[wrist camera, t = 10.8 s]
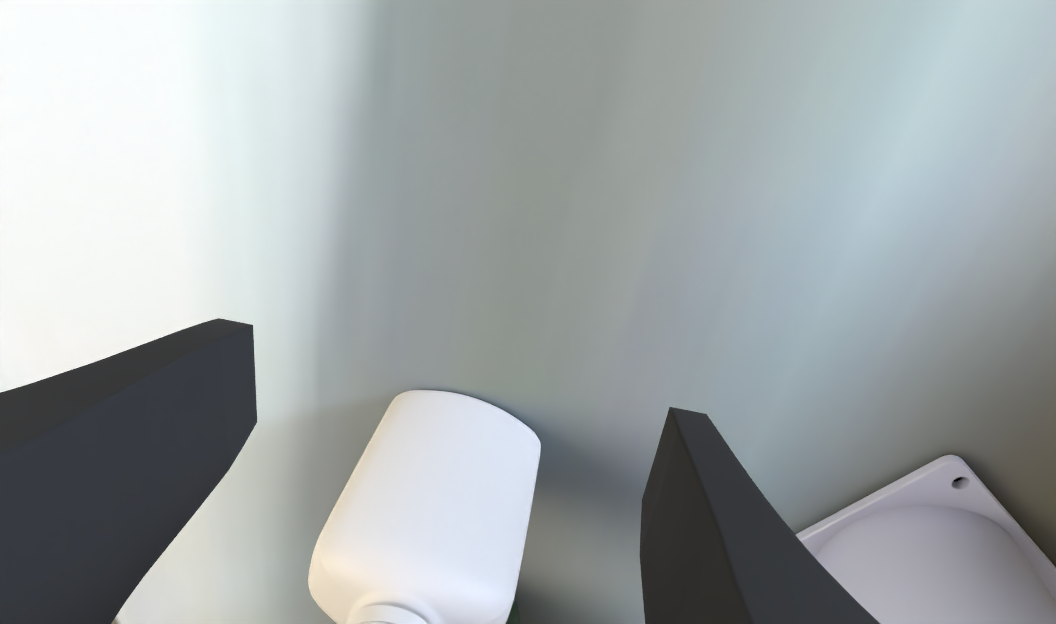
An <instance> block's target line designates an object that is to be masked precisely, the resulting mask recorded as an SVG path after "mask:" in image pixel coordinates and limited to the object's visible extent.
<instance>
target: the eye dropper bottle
mask: <svg viewBox="0 0 1056 624" xmlns="http://www.w3.org/2000/svg"><path fill="white" fill-rule="evenodd" d="M540 453H541V444H540V441H539V439H538V437H537V436H536V434H535V433H534V432H533V431H532V430H531V429H530V428H529V427H528V426H526V425H525V424H524V423H522V422H521V421H519V420H518V419H516V418H515V417H513V416H512V415H510V414H509V413H507V412H505V411H503V410H501V409H500V408H498V407H495V406H493V405H491V404H489V403H486V402H484V401H481V400H479V399H476V398H472V397H469V396H465V395H461V394H457V393H452V392H445V391H435V390H412V391H406V392H404V393H401V394H399V395H397V396H396V397H395V398H394V400H393V401H392V402H391V404H390V406H389V407H388V409H387V411H386V413H385V415H384V416H383V418H382V420H381V422H380V424H379V425H378V427H377V429H376V431H375V433H374V435H373V436H372V438H371V440H370V442H369V444H368V446H367V447H366V449H365V451H364V453H363V455H362V457H361V458H360V460H359V462H358V464H357V466H356V468H355V470H354V471H353V473H352V475H351V477H350V479H349V481H348V482H347V484H346V486H345V488H344V490H343V492H342V494H341V495H340V497H339V499H338V501H337V503H336V505H335V507H334V508H333V510H332V512H331V514H330V516H329V518H328V520H327V522H326V524H325V526H324V528H323V530H322V532H321V534H320V536H319V538H318V541H317V543H316V546H315V549H314V552H313V556H312V560H311V565H310V570H309V577H308V585H309V589H310V593H311V595H312V597H313V599H314V600H315V601H316V603H317V604H318V605H319V607H320V608H321V609H322V610H323V611H324V612H325V613H326V614H327V615H328V616H329V617H330V618H331V619H333V620H334V621H335V622H336V623H337V624H506V621H507V619H508V616H509V613H510V610H511V607H512V604H513V601H514V597H515V592H516V587H517V582H518V577H519V572H520V567H521V561H522V556H523V550H524V545H525V539H526V534H527V528H528V523H529V517H530V511H531V506H532V500H533V494H534V489H535V483H536V477H537V471H538V466H539V460H540Z"/></svg>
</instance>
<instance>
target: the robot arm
mask: <svg viewBox="0 0 1056 624" xmlns="http://www.w3.org/2000/svg"><path fill="white" fill-rule="evenodd" d="M256 423H257V409H256V386H255V363H254V340H253V325H250V324H245V323H240V322H235V321H230V320H224V319H215V320H211V321H207V322H204V323H201V324H198V325H195V326H192V327H189V328H186V329H183V330H181V331H178V332H175V333H172V334H170V335H167V336H164V337H162V338H159V339H156V340H154V341H151V342H148V343H146V344H143V345H140V346H137V347H135V348H132V349H129V350H127V351H124V352H121V353H119V354H116V355H113V356H110V357H108V358H105V359H102V360H100V361H97V362H94V363H91V364H88V365H85V366H82V367H79V368H76V369H73V370H70V371H67V372H64V373H61V374H58V375H55V376H52V377H49V378H46V379H43V380H40V381H37V382H34V383H31V384H28V385H25V386H22V387H18V388H15V389H12V390H8V391H5V392H1V393H0V624H111V623H112V621H113V620H114V618H115V617H116V615H117V614H118V612H119V611H120V609H121V608H122V606H123V604H124V603H125V601H126V600H127V599H128V597H129V596H130V595H131V593H132V592H133V590H134V589H135V588H136V586H137V585H138V584H139V582H140V581H141V580H142V578H143V577H144V576H145V574H146V573H147V572H148V571H149V569H150V568H151V567H152V566H153V564H154V563H155V562H156V561H157V559H158V558H159V557H160V556H161V554H162V553H163V552H164V551H165V549H166V548H167V547H168V546H169V544H170V543H171V542H172V541H173V539H174V538H175V537H176V536H177V535H178V533H179V532H180V531H181V530H182V528H183V527H184V526H185V525H186V523H187V522H188V521H189V520H190V518H191V517H192V516H193V515H194V513H195V512H196V511H197V510H198V508H199V507H200V506H201V505H202V503H203V502H204V501H205V500H206V498H207V497H208V496H209V495H210V493H211V492H212V491H213V489H214V488H215V487H216V486H217V484H218V483H219V482H220V481H221V479H222V478H223V477H224V475H225V474H226V473H227V471H228V470H229V469H230V467H231V465H232V464H233V462H234V461H235V459H236V457H237V456H238V454H239V452H240V451H241V449H242V447H243V446H244V444H245V442H246V440H247V439H248V437H249V435H250V433H251V432H252V430H253V428H254V426H255V425H256ZM959 477H963V478H962V479H961V480H959V481H956V482H954V481H953V480H955V479H956V478H959ZM640 564H641V577H642V589H643V601H644V613H645V624H1056V567H1055V566H1054V565H1053V563H1052V562H1051V561H1050V560H1049V559H1048V558H1047V557H1046V555H1045V554H1044V553H1043V552H1042V551H1041V550H1040V548H1039V547H1038V546H1037V545H1036V544H1035V543H1034V542H1033V540H1032V539H1031V538H1030V537H1029V536H1028V535H1027V533H1026V532H1025V531H1024V530H1023V529H1022V528H1021V527H1020V525H1019V524H1018V523H1017V522H1016V521H1015V520H1014V518H1013V517H1012V516H1011V515H1010V514H1009V513H1008V512H1007V510H1006V509H1005V508H1004V507H1003V506H1002V505H1001V503H1000V502H999V501H998V500H997V499H996V498H995V497H994V495H993V494H992V493H991V492H990V491H989V490H988V488H987V487H986V486H985V485H984V484H983V483H982V482H981V480H980V479H979V478H978V477H977V476H976V475H975V473H974V472H973V471H972V470H971V469H970V468H969V467H968V465H967V464H966V463H965V462H964V461H963V460H962V459H961V458H960V457H958V456H955V455H945V456H943V457H940V458H938V459H936V460H934V461H932V462H930V463H928V464H927V465H925V466H923V467H921V468H919V469H917V470H915V471H913V472H912V473H910V474H908V475H906V476H904V477H902V478H900V479H898V480H897V481H895V482H893V483H891V484H889V485H887V486H885V487H883V488H882V489H880V490H878V491H876V492H874V493H872V494H870V495H868V496H867V497H865V498H863V499H861V500H859V501H857V502H855V503H853V504H852V505H850V506H848V507H846V508H844V509H842V510H840V511H838V512H837V513H835V514H833V515H831V516H829V517H827V518H825V519H823V520H821V521H820V522H818V523H816V524H814V525H812V526H810V527H808V528H806V529H805V530H803V531H801V532H799V533H797V534H794V533H793V532H792V530H791V529H790V528H789V527H788V526H787V524H786V523H785V522H784V521H783V520H782V518H781V517H780V516H779V515H778V513H777V512H776V511H775V510H774V508H773V507H772V506H771V505H770V503H769V502H768V501H767V499H766V498H765V497H764V495H763V494H762V493H761V491H760V490H759V489H758V487H757V486H756V485H755V483H754V482H753V481H752V479H751V478H750V476H749V475H748V474H747V472H746V471H745V469H744V468H743V467H742V465H741V464H740V462H739V461H738V459H737V458H736V457H735V455H734V454H733V452H732V451H731V449H730V448H729V446H728V445H727V444H726V442H725V441H724V439H723V438H722V436H721V435H720V433H719V432H718V430H717V429H716V427H715V426H714V424H713V423H712V421H711V420H710V419H709V417H708V416H707V414H703V413H698V412H693V411H688V410H683V409H678V408H672V407H670V408H669V411H668V415H667V418H666V421H665V425H664V428H663V431H662V435H661V438H660V442H659V445H658V448H657V452H656V455H655V458H654V462H653V465H652V468H651V472H650V475H649V479H648V482H647V485H646V489H645V492H644V495H643V499H642V512H641V534H640Z"/></svg>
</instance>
